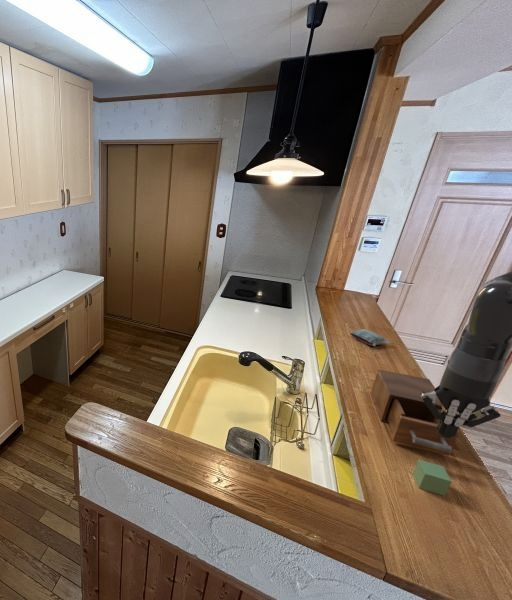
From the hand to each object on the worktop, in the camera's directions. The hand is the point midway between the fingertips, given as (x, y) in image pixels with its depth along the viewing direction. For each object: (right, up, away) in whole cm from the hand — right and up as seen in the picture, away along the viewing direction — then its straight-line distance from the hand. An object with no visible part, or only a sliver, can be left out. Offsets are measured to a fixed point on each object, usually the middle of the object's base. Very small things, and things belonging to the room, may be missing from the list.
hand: (444, 435), depth 74 cm
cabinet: (+13, -4, +25) cm, 29 cm away
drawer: (+7, -7, +15) cm, 18 cm away
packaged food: (+37, +12, +68) cm, 78 cm away
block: (-2, -12, +2) cm, 13 cm away
